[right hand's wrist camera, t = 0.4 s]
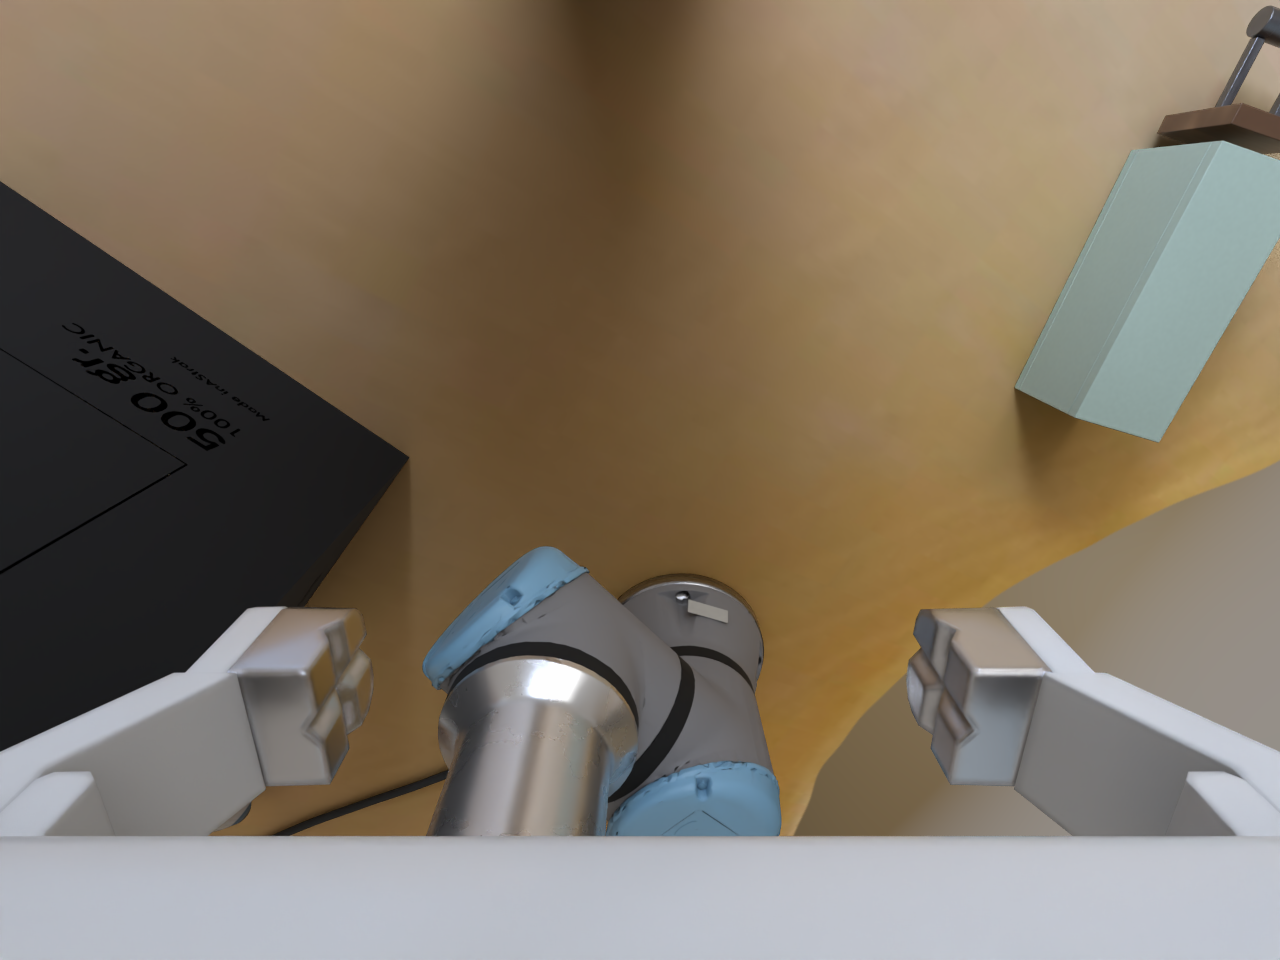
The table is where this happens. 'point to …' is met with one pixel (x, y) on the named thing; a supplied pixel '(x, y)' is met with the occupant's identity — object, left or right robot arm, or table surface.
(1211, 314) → the cabinet
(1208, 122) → the drawer
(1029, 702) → the right robot arm
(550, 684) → the left robot arm
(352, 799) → the table surface
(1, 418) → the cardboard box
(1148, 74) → the table surface
